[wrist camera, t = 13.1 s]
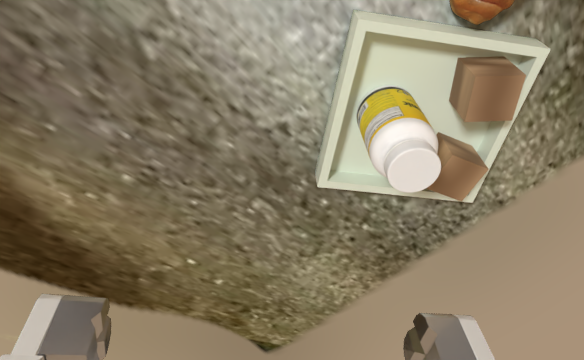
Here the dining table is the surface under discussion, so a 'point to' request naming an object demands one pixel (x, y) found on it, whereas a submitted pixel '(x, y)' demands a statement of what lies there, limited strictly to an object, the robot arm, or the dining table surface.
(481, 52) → the tray
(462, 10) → the pastry
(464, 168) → the walnut block
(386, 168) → the supplement bottle
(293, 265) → the dining table surface
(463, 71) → the walnut block
